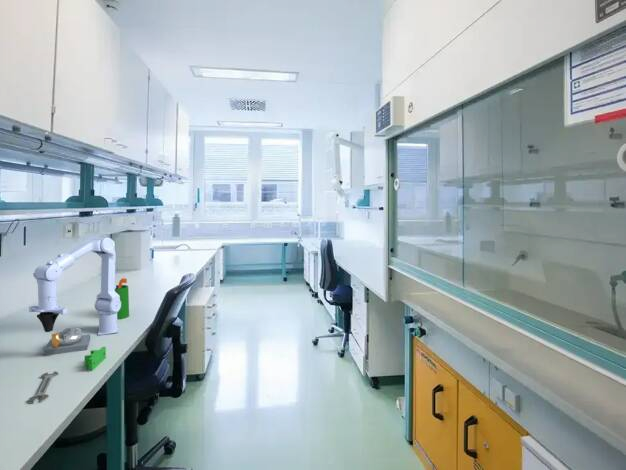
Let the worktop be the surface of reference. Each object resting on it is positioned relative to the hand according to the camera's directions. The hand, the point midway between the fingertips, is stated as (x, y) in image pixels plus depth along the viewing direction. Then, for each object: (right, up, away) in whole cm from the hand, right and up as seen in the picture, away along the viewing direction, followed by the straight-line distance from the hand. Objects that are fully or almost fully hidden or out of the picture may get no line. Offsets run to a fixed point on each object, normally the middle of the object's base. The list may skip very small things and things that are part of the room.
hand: (48, 331), depth 135 cm
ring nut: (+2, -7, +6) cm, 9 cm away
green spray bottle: (0, -6, +49) cm, 50 cm away
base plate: (+1, -9, +9) cm, 13 cm away
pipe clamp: (+21, -11, -6) cm, 25 cm away
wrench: (+16, -12, -23) cm, 30 cm away
